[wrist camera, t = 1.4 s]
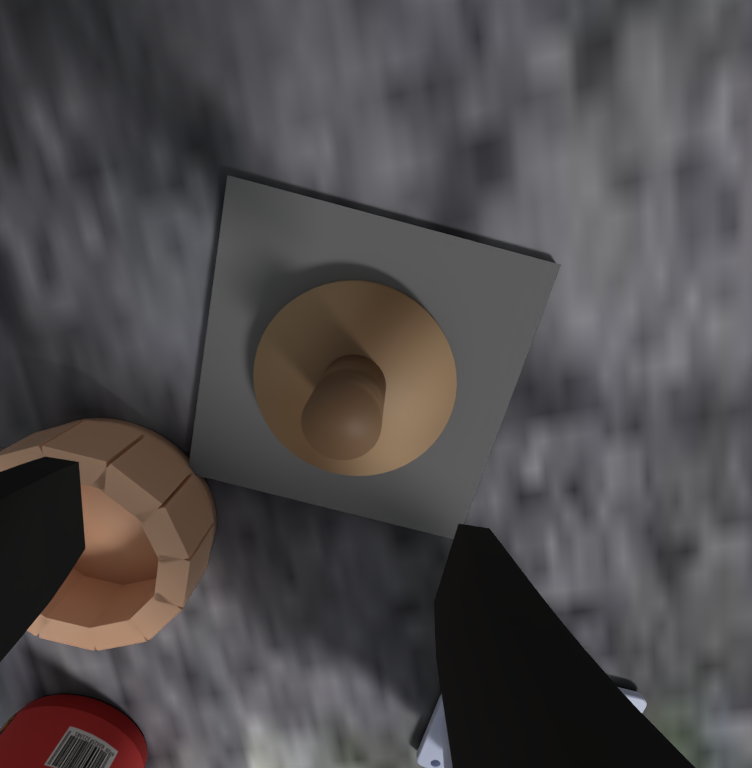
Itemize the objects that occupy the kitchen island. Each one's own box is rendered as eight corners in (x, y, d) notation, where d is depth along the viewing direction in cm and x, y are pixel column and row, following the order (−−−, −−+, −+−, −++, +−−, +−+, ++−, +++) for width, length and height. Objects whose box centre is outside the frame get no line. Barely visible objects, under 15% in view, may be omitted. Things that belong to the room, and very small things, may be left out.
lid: (480, 308, 16) (506, 333, 12) (424, 484, 19) (430, 556, 15) (277, 256, 16) (233, 263, 12) (246, 441, 19) (201, 500, 14)
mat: (556, 264, 16) (560, 264, 16) (456, 534, 20) (457, 540, 20) (231, 176, 16) (227, 175, 15) (191, 468, 20) (187, 473, 19)
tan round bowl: (232, 445, 19) (201, 485, 16) (205, 609, 22) (174, 669, 19) (18, 392, 19) (-55, 421, 16) (19, 565, 22) (-43, 618, 19)
